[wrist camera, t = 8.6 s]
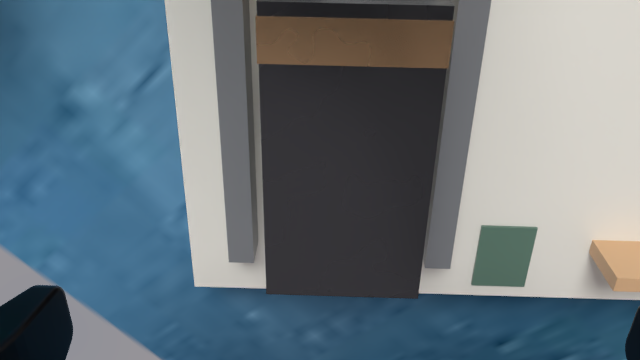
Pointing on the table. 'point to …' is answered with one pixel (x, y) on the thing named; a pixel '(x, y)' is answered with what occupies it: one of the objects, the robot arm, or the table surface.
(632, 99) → the cradle
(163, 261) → the table surface
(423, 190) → the battery
